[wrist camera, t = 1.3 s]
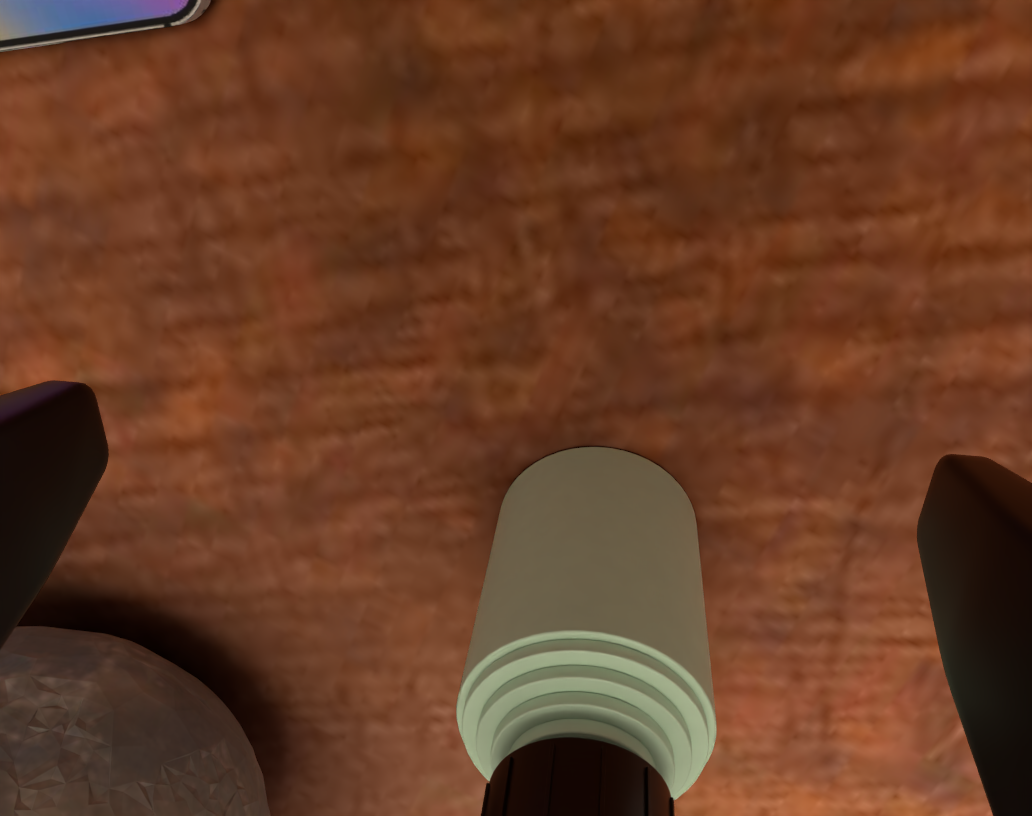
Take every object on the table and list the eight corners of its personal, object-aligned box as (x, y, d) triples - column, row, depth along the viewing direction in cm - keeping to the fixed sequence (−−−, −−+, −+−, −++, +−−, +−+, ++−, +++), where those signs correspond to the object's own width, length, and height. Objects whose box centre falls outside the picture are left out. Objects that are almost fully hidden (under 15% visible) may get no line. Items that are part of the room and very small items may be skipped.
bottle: (737, 504, 26) (806, 909, 15) (629, 631, 28) (626, 1043, 18) (558, 412, 25) (502, 773, 14) (466, 552, 28) (365, 936, 17)
